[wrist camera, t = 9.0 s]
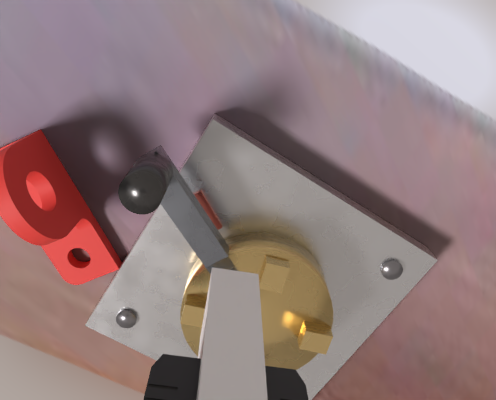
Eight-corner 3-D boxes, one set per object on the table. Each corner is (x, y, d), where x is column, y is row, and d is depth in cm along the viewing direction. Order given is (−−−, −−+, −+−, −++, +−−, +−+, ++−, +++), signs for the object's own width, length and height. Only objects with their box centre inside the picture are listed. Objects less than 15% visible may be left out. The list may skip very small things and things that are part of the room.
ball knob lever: (350, 317, 37) (372, 381, 30) (231, 372, 39) (228, 443, 33) (221, 101, 31) (214, 125, 24) (87, 181, 33) (47, 223, 26)
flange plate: (92, 310, 39) (83, 327, 37) (214, 113, 33) (212, 120, 31) (286, 407, 44) (288, 427, 41) (428, 247, 37) (439, 262, 35)
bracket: (-11, 153, 34) (-81, 190, 27) (41, 129, 34) (-16, 161, 26) (74, 281, 39) (34, 344, 31) (122, 261, 38) (92, 321, 31)
